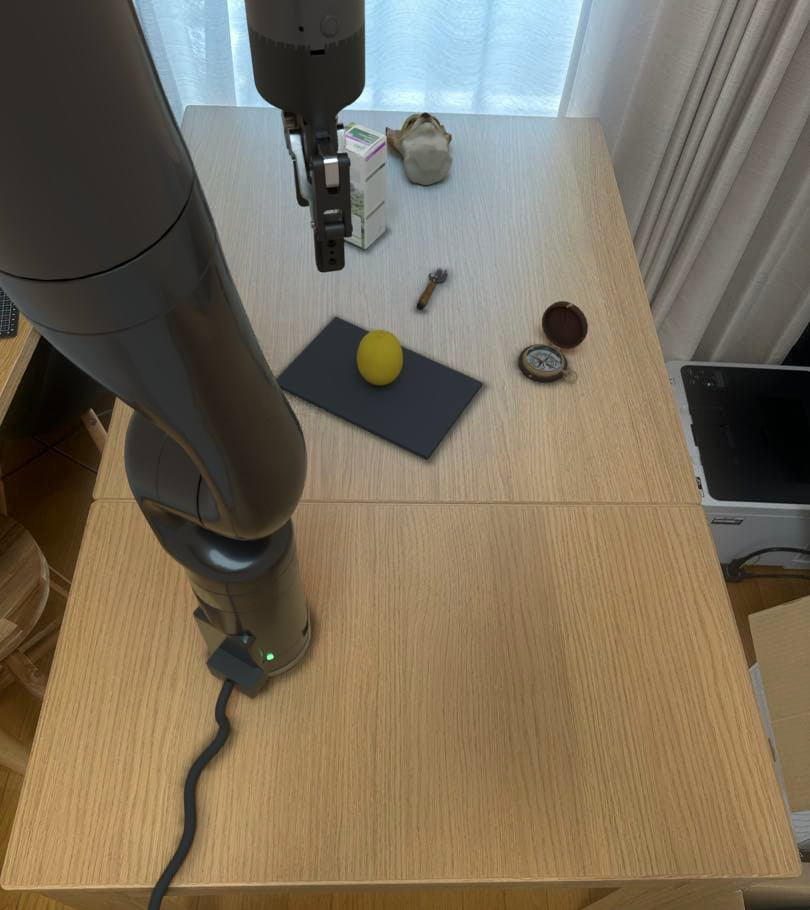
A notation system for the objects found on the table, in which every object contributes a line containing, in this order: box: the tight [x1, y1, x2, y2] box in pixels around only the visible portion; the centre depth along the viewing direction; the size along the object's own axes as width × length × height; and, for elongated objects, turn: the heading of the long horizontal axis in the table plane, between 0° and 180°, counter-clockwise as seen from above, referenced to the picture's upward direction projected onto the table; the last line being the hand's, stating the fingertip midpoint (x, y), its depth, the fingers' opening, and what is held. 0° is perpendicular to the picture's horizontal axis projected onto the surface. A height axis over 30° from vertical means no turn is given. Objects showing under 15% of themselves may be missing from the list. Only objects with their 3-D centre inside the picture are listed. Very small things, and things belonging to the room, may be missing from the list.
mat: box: [276, 316, 483, 461], centre depth 92 cm, size 14×22×1 cm, turn 60°
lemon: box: [357, 329, 403, 385], centre depth 89 cm, size 6×6×8 cm
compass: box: [518, 300, 589, 383], centre depth 93 cm, size 8×8×7 cm
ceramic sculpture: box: [384, 111, 453, 186], centre depth 114 cm, size 11×9×15 cm
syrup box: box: [331, 121, 388, 250], centre depth 102 cm, size 6×6×14 cm
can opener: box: [416, 267, 449, 310], centre depth 102 cm, size 9×2×1 cm, turn 153°
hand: (320, 235), depth 61 cm, fingers open, 8 cm apart
